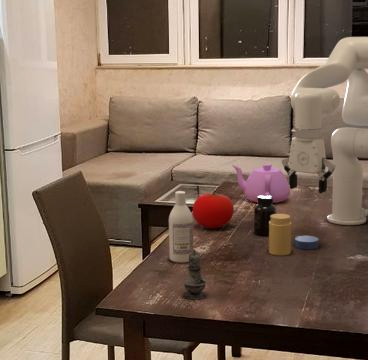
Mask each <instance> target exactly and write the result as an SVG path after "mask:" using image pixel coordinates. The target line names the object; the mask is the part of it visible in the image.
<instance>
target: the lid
mask: <svg viewBox="0 0 368 360" xmlns="http://www.w3.org/2000/svg"><path fill="white" fill-rule="evenodd" d="M294 246H295V247H296V248H297V249H302V250H315V249H318V248H319V246H320V242H319V237H317V236H314V235H297V236H295V238H294Z"/></svg>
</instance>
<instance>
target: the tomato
mask: <svg viewBox="0 0 368 360" xmlns="http://www.w3.org/2000/svg"><path fill="white" fill-rule="evenodd" d="M234 210H235V209H234V204H233V202H232V200H231V199H230V198H229V197H228V196H227V195H225V194H223V193H222V194H221V193H216V192H207V193H203V194H201V195H200V196H198V197H197V198H196V199H195V200H194V202H193V204H192V217H193V219H194V220H195V221H196V223H197V224H198V225H200V226H201V227H204V228H206V229H213V230H214V229H219V228H222V227H224V226H226V225H227V224H228V223H229V222H231V219H232V217H233V215H234Z"/></svg>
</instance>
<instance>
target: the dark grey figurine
mask: <svg viewBox="0 0 368 360" xmlns="http://www.w3.org/2000/svg"><path fill="white" fill-rule="evenodd" d="M186 268H187V269H188V276H187V278H186V279H183V281H182V284H183V285H184V288H185V290H186V291H187V292H185V293H184V294H183V295H184V297H185V298H186V299H190V300H201V299H203V298H205V297H206V293H205V292H203V291H204V290H205V288H206V284H207V279H204V278H202V272H201V271H202V270H201V269H203V266H201V255H200V253H198V252H196V250H195V249H194V248H193V253H191V254H190V255H189V262H188V265H187V267H186Z"/></svg>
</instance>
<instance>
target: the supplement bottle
mask: <svg viewBox="0 0 368 360" xmlns="http://www.w3.org/2000/svg"><path fill="white" fill-rule="evenodd" d="M256 203H257V204H256V205H255V206H254V207H253V233H254V234H255V235H257V236H260V237H261V236H262V237H269V222H270V220H271V217H270V216H271V215H273V214H277V208H276V206H275V205H274V204H273V203H274V202H273V197H271V196H258V201H257V202H256Z"/></svg>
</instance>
